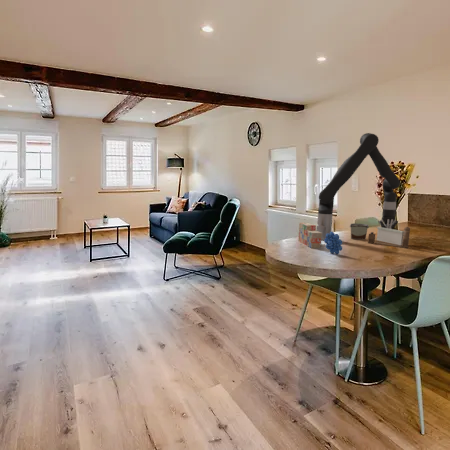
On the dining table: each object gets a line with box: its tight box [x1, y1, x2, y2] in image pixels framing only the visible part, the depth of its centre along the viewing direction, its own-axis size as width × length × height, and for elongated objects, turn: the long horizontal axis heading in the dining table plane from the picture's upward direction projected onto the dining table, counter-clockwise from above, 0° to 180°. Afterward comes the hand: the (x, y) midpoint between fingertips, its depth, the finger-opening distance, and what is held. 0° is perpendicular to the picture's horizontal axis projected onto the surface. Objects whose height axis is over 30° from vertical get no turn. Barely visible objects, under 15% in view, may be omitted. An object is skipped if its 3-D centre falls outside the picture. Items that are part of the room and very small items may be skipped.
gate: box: [376, 226, 404, 246], centre depth 218 cm, size 18×2×9 cm, turn 27°
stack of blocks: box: [297, 222, 322, 249], centre depth 211 cm, size 21×6×12 cm, turn 8°
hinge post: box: [401, 226, 411, 249], centre depth 208 cm, size 3×3×13 cm
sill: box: [374, 241, 403, 248], centre depth 216 cm, size 4×16×1 cm, turn 44°
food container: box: [349, 223, 370, 240], centre depth 236 cm, size 12×6×10 cm, turn 84°
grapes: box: [323, 231, 343, 255], centre depth 188 cm, size 12×7×12 cm, turn 38°
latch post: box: [367, 231, 376, 245], centre depth 220 cm, size 3×3×7 cm
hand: (387, 234), depth 225 cm, fingers closed
